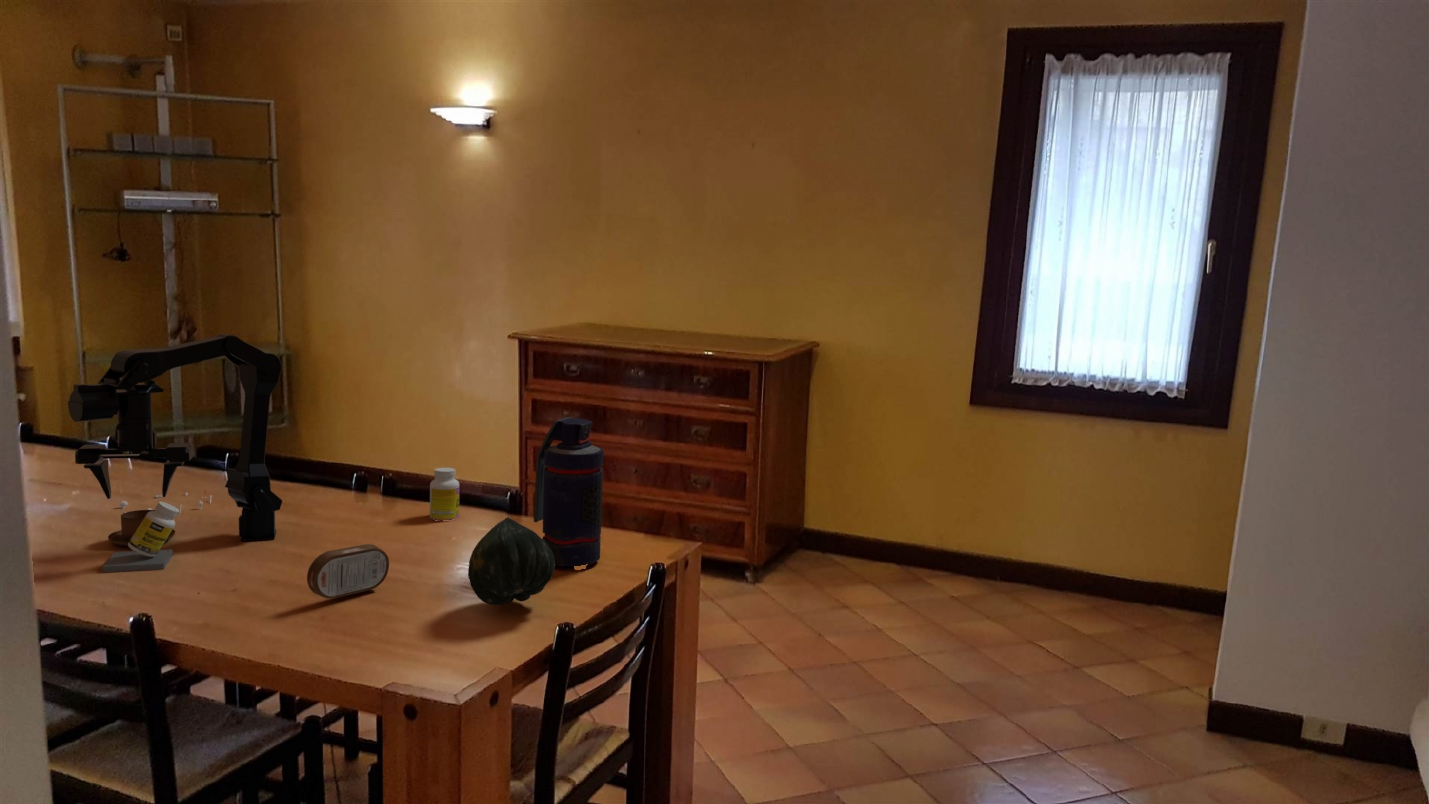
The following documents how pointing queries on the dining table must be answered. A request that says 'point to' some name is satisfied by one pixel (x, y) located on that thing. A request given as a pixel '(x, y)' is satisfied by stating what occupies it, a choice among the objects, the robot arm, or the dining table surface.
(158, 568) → the charcoal block
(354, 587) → the tin
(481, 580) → the squash
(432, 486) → the supplement bottle
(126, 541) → the cup and saucer
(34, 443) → the dining table surface
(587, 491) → the grenade
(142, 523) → the supplement bottle
